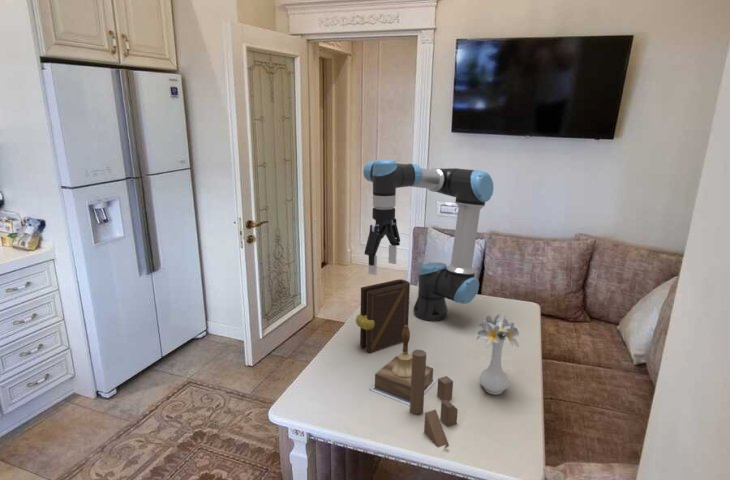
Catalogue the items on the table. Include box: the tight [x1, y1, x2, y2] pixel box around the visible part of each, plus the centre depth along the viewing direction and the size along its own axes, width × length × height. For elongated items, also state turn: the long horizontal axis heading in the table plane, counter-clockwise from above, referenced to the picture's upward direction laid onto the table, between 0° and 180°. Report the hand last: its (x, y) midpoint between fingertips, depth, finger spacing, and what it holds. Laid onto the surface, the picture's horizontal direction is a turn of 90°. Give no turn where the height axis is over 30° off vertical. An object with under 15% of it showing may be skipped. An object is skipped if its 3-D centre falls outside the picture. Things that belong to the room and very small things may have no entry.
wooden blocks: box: [409, 349, 458, 449], centre depth 128 cm, size 17×20×20 cm
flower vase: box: [475, 312, 520, 396], centre depth 144 cm, size 13×18×25 cm
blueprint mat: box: [368, 377, 438, 407], centre depth 147 cm, size 18×16×1 cm
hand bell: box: [392, 324, 412, 378], centre depth 144 cm, size 8×8×16 cm
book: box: [355, 278, 411, 355], centre depth 170 cm, size 22×8×25 cm, turn 123°
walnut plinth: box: [374, 355, 434, 401], centre depth 146 cm, size 14×14×5 cm
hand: (382, 268), depth 153 cm, fingers open, 13 cm apart
